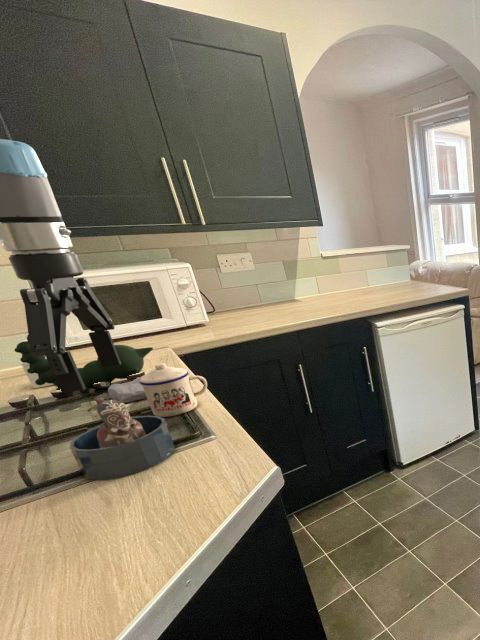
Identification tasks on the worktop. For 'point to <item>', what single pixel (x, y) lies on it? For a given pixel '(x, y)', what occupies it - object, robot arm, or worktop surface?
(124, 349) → the toy figurine
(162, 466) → the worktop surface
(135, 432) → the figurine
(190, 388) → the teacup with lid
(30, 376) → the container
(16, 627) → the worktop surface
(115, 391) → the stone block
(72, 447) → the blue oval tub
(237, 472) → the worktop surface
